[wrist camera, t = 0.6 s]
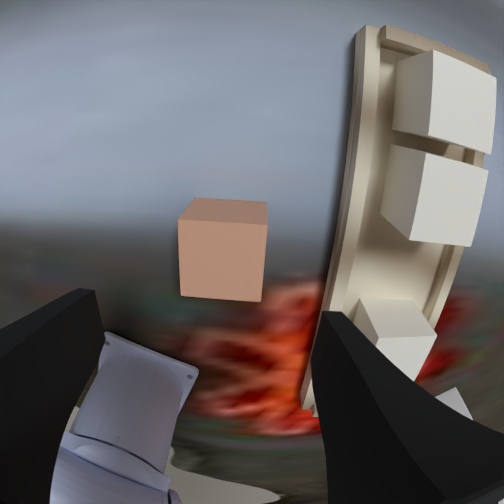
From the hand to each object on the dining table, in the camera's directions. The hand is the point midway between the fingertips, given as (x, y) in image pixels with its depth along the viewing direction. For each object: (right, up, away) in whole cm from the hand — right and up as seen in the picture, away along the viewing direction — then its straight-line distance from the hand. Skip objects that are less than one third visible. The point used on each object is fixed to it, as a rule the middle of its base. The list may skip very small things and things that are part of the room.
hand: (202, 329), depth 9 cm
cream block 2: (+11, +6, +6) cm, 14 cm away
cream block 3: (+10, -3, +10) cm, 15 cm away
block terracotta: (0, +3, +9) cm, 10 cm away
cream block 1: (+11, +11, +4) cm, 16 cm away
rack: (+11, +2, +9) cm, 14 cm away
